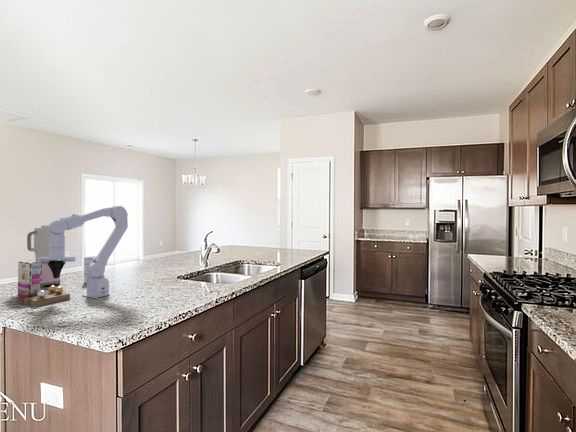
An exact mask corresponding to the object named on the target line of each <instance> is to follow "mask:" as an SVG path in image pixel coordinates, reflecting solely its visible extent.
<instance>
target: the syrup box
mask: <svg viewBox="0 0 576 432" xmlns="http://www.w3.org/2000/svg"><path fill="white" fill-rule="evenodd" d="M96 256H97V255H90V256H85V257H83V283H84V284H87V276H88V274H89V272H88V271H87V266H88V264H89V263H91V262H92V261H93V260H94V259H95V257H96Z"/></svg>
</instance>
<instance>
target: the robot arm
mask: <svg viewBox="0 0 576 432" xmlns="http://www.w3.org/2000/svg"><path fill="white" fill-rule="evenodd" d="M128 216H129V214H128V212H127V210H126V208H125V207H124V206H121V205H114V206H109V207H104V208H101V209H97V210H94V211H91V212H89V213H85V214H83V215H82V214H79V213H76V214H75V213H72V214H71V215H70V216H67V217H64V218H63V217H60V218H59V219H58V220H57V219H56V220H53V221H52V222H50V224H49V230H50V231H51V232H50V237H49V257H38V262H49V263H48V266H49V267H50V269H51V271H52V274H53V277H54V278H59V276H60V277H61V273H62V269H63V268H64V266H65V265H66V262H71V263H74V262H76V256H65V253H66V251H65V249H66V248H65V247H66V246H65V245H66V243H65V242H66V240H65V239H66V237H65V231H69V230H73V229H76V228H80V227H83V226H84V224H85V222H88V221H92V220H95V219H98V218H102V217H105V218H106V217H107V218H108V217H109V218H111V219H112V220H113V223H114V228H113V230H112V232H111V233H110V235H109V237H108V238H107V240H106V241H105V243H104V245H103V246H102V247H101V249H100V250H99V252H98V254H97V255H95V256H96V257H95V259H94V260H93V261H92V262H91V263H89V264H88V266H87V271H88V272H89V274H88V276H87V283H86V293H85V294H81V295H82V297H87V298H92V299H97V298H102V297H106V296H107V297H108V296H110V295H111V293H110V292H109V291H110V281H109V279H108V278H107V277H106V276H105V274H104V273H105V271H106V266H107V265H108V261H109V259H110V258H111V255H112V254H113V252H114V251H115V249H116V248H117V245H118V244H119V242H120V240H121V239H122V238H123V236H124V235H125V233H126V231H127V229H128V226H129V223H128V218H129V217H128Z"/></svg>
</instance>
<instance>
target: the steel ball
mask: <svg viewBox="0 0 576 432" xmlns="http://www.w3.org/2000/svg"><path fill="white" fill-rule="evenodd" d="M46 291H47V290H43V289H41V291H39V292H38V293H37V296H38V297H39V298H43V297H45V296H46Z"/></svg>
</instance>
